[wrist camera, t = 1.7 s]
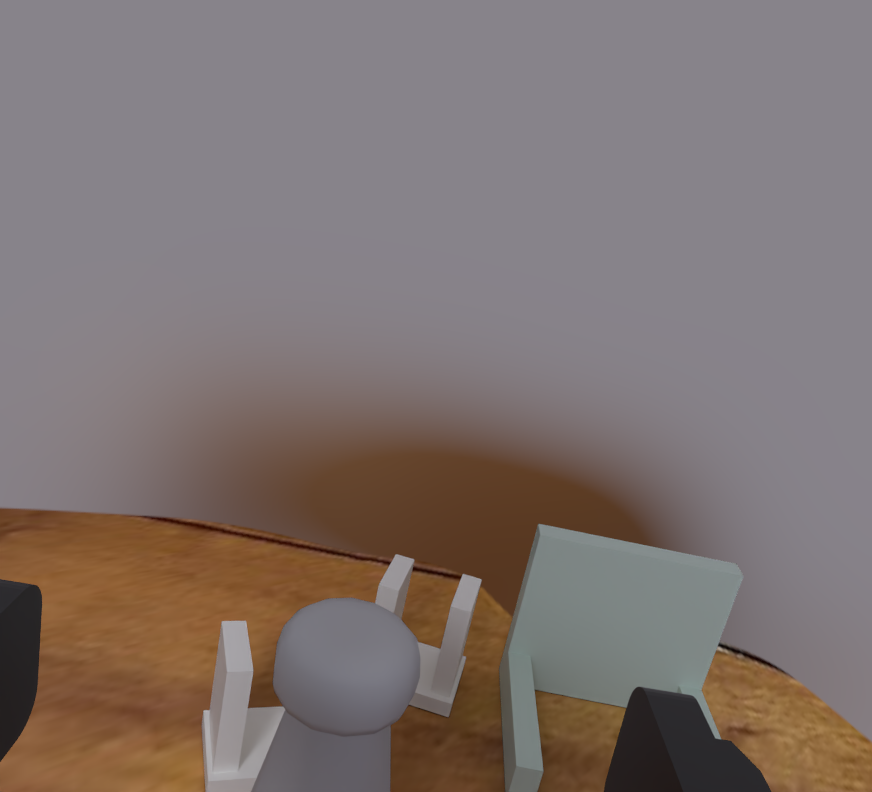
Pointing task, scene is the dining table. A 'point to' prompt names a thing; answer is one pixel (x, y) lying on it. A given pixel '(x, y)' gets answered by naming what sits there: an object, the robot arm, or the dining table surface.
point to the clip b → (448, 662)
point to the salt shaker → (339, 697)
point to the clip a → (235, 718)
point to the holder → (606, 631)
